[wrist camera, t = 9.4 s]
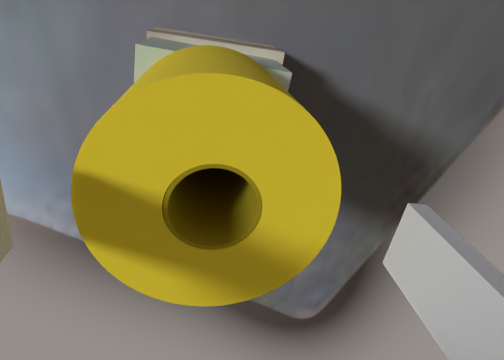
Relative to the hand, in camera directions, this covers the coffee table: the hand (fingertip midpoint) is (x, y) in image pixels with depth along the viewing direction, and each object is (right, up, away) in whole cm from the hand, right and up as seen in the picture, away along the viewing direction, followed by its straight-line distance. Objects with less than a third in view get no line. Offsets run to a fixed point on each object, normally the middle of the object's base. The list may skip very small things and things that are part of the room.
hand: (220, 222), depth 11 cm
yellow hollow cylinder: (-2, +5, +10) cm, 11 cm away
